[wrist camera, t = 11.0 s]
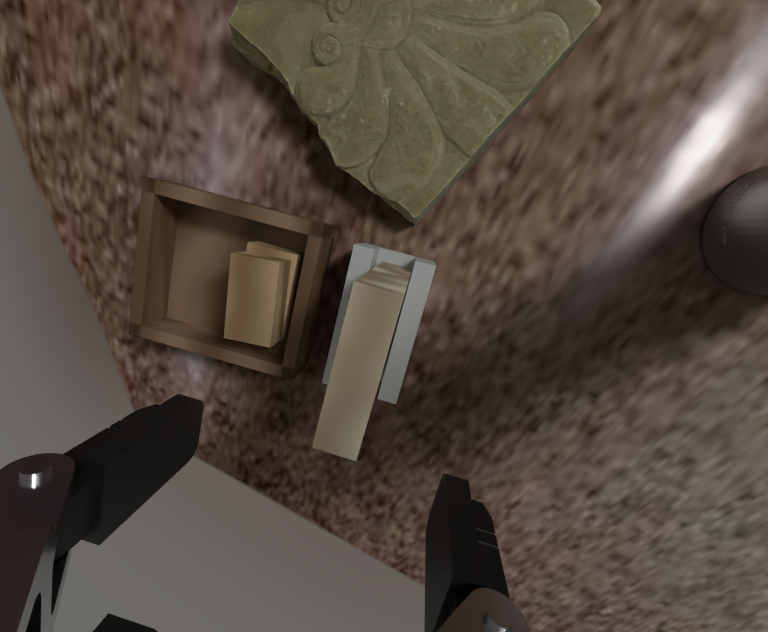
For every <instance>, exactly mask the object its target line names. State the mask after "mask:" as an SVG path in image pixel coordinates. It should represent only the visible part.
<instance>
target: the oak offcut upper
mask: <svg viewBox="0 0 768 632" xmlns="http://www.w3.org/2000/svg"><path fill="white" fill-rule="evenodd" d="M290 267H291V260H288V259H283V258H278V257H273V256H268V255H263V254H258V253H253V252H247V251H243V252H233V253H231V257H230V269H229V281H228V293H227V305H226V317H225V329H224V338H226V339H231V340H236V341H240V342H245V343H250V344H255V345H259V346H264V347H269V348H270V347H272V346H273V345H274V344H276V343H277V342H278V341H280V340H281V339H282V332H283V324H284V315H285V307H286V299H287V291H288V283H289V275H290Z"/></svg>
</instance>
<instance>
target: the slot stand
mask: <svg viewBox="0 0 768 632" xmlns="http://www.w3.org/2000/svg"><path fill="white" fill-rule="evenodd" d="M383 261H385V262H388V263H392V264H395V265H399V266H402V267H406V268H409V269H412V272H411V275H410V279H409V282H408V286H407V289H406V293H405V296H404V299H403V303H402V306H401V310H400V313H399V317H398V320H397V324H396V327H395V330H394V334H393V337H392V341H391V344H390V348H389V351H388V355H387V358H386V361H385V365H384V368H383V372H382V375H381V379H380V381H382V384H381V387H380V391H379V395H378V398H377V399H379V400H382V401H386V402H389V403H393V404H396V403H397V399H398V396H399V392H400V389H401V385H402V382H403V378H404V375H405V372H406V368H407V365H408V361H409V358H410V354H411V351H412V348H413V344H414V341H415V337H416V334H417V330H418V327H419V323H420V320H421V317H422V313H423V310H424V306H425V303H426V299H427V296H428V292H429V289H430V286H431V282H432V279H433V275H434V272H435V268H436V264H435V262H434V261H431V260H427V259H423V258H419V257H416V256H412V255H408V254H404V253H401V252H397V251H393V250H390V249H386V248H382V247H378V246H375V245H371V244H367V243H358V244H354V247H353V251H352V255H351V260H350V264H349V268H348V273H347V277H346V281H345V285H344V290H343V294H342V298H341V303H340V307H339V311H338V316H337V320H336V324H335V328H334V333H333V337H332V341H331V346H330V350H329V354H328V359H327V363H326V367H325V371H324V376H323V380H322V383H323V384H327V385H328V382H329V378H330V374H331V370H332V366H333V362H334V358H335V354H336V350H337V346H338V343H339V339H340V335H341V331H342V327H343V323H344V319H345V315H346V311H347V307H348V303H349V299H350V295H351V291H352V287H353V283H354V281H355V280H357V279H358V278H360V277H361V276H363V275H364V274H365V273H367V272H368V271H370V270H371V269H373V268H374V267H376V266H377V265H379V264H380V263H382V262H383Z"/></svg>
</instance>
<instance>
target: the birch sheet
mask: <svg viewBox="0 0 768 632" xmlns="http://www.w3.org/2000/svg"><path fill="white" fill-rule="evenodd" d="M411 272H412V269H409V268H406V267H402V266H399V265H395V264H392V263H388V262H385V261H383V262H382V263H380V264H379V265H377V266H376V267H374V268H373V269H371V270H370V271H368V272H367V273H365V274H364V275H363V276H361V277H360V278H358V279H357V280H355V281H354V283H353V287H352V291H351V295H350V299H349V303H348V307H347V311H346V315H345V319H344V323H343V327H342V331H341V335H340V339H339V343H338V346H337V350H336V354H335V358H334V362H333V366H332V370H331V374H330V378H329V382H328V386H327V390H326V394H325V398H324V402H323V406H322V410H321V414H320V418H319V422H318V426H317V429H316V433H315V437H314V441H313V445H312V448H315V449H318V450H321V451H324V452H328V453H331V454H334V455H337V456H341V457H344V458H347V459H350V460H354V461H356V460H357V457H358V453H359V450H360V447H361V443H362V440H363V436H364V433H365V430H366V426H367V423H368V419H369V416H370V413H371V409H372V406H373V402H374V399H375V396H376V392H377V389H378V385H379V382H380V379H381V375H382V372H383V368H384V365H385V361H386V358H387V355H388V351H389V348H390V344H391V341H392V337H393V334H394V330H395V327H396V324H397V320H398V317H399V313H400V310H401V306H402V303H403V299H404V296H405V293H406V289H407V286H408V282H409V279H410V275H411Z"/></svg>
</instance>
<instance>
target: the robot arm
mask: <svg viewBox="0 0 768 632" xmlns="http://www.w3.org/2000/svg"><path fill="white" fill-rule="evenodd" d="M702 247H703V254H704V257H705V260H706V262H707V265H708V266H709V268H710V269H711V271H712V272H713V273H714V275H715V276H717V277H718V278H719V279H720V280H721V281H722V282H724V283H726V284H728V285H730V286H732V287H734V288H736V289H740V290H744V291H748V292H754V293H760V294H765V295H768V166H765V167H762V168H759V169H756V170H754V171H751V172H749V173H748V174H746V175H744V176H742V177H741V178H739V179H737V180H736V181H735V182H734V183H732V184H731V185H730V186H729V187H728V188H726V189H725V190H724V192H723V193H722V194H721V195H720V196H719V197H718V199H717V200H716V201H715V203H714V204H713V206H712V208H711V210H710V211H709V213H708V215H707V218H706V221H705V224H704V227H703V234H702ZM202 413H203V402H202V401H201V400H198V399H194V398H191V397H187V396H184V395H181V394H177V395H175V396H173V397H172V398H170V399H169V400H167V401H165V402H164V403H162V404H161V405H157V404H155V405H152V406H149V407H145V408H142V409H139V410H136V411H135V412H133V413H131V414H130V415H128V416H126V417H125V418H123V419H122V421H118V422H116V423H115V424H113V425H111V426H110V428H106V429H105V430H103V431H101V432H99V433H98V434H96V435H95V436H93V437H91V438H90V439H88V440H86V441H84V442H83V443H81V444H79V445H78V446H76V447H74V448H73V449H71V450H69V451H68V452H66V453H64V454H57V453H44V454H36V455H32V456H28V457H24V458H21V459H19V460H16V461H14V462H12V463H10V464H8V465H6V466H5V467H3V468H2V469H0V632H53V628H54V623H55V619H56V615H57V611H58V607H59V602H60V598H61V594H62V590H63V586H64V582H65V578H66V574H67V569H68V565H69V561H70V556H71V548H72V547H73V546H75V545H76V544H77V543H78V542H79V541H80V540H81V539H82V540H85V541H88V542H91V543H94V544H97V545H100V544H101V543H102V542H103V541H104V540H105V539H106V538H108V537H109V536H110V535H111V534H112V533H113V532H114V531H115V530H116V529H117V528H118V527H119V526H120V525H121V524H123V523H124V522H125V521H126V520H127V519H128V518H129V517H130V516H131V515H132V514H133V513H134V512H135V511H136V510H137V509H138V508H140V507H141V506H142V505H143V504H144V503H145V502H146V501H147V500H148V499H149V498H150V497H151V496H152V495H153V494H155V493H156V492H157V491H158V490H159V489H160V488H161V487H162V486H163V485H164V484H165V483H166V482H167V481H168V480H169V479H171V478H172V477H173V476H174V475H175V474H176V473H177V472H178V471H179V470H180V469H181V468H182V467H183V466H184V465H185V464H187V462H188V461H189V460H190V459H191V458H192V456H193V455H194V453H195V451H196V449H197V446H198V442H199V435H200V428H201V421H202ZM93 632H157V631H156V630H155V629H153V628H150V627H146V626H144V625H141V624H138V623H135V622H132V621H129V620H126V619H123V618H120V617H117V616H114V615H112V614H107V616H106V617H105V618H104V619H103V621H102V622H101V623H100V624H99V625H98V626H97V628H96V629H95V630H94V631H93ZM425 632H530V629H529V626H528V623H527V621H526V619H525V617H524V615H523V614H522V612H521V611H520V609H519V608H518V607H517V606H516V605H515V604H514V603H513V602H512V601H511V600H510V598H509V593H508V589H507V584H506V580H505V575H504V571H503V566H502V562H501V557H500V553H499V549H498V544H497V539H496V536H495V530H494V526H493V521H492V517H491V516H490V514H489V513H488V511H487V510H486V508H485V506H484V505H483V503H481V502H478V501H475V500H471V494H470V488H469V482H468V480H465V479H462V478H458V477H455V476H451V475H448V474H445V473H444V474H443V476H442V478H441V481H440V484H439V487H438V490H437V493H436V496H435V499H434V502H433V505H432V508H431V511H430V514H429V518H428V523H427V529H426V557H425Z"/></svg>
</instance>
